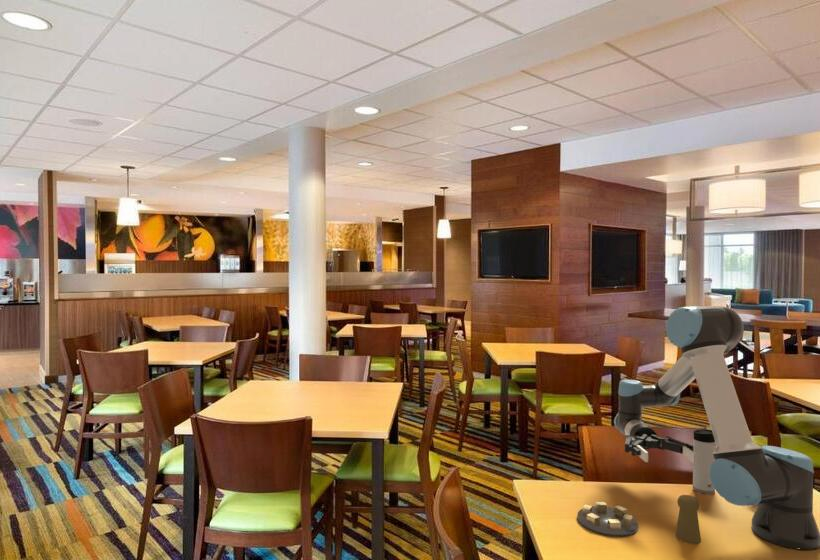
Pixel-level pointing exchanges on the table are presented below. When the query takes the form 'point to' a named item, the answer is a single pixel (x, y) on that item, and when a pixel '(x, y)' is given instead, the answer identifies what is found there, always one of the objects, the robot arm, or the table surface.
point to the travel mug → (703, 460)
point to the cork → (688, 520)
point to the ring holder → (607, 520)
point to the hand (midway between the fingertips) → (671, 458)
